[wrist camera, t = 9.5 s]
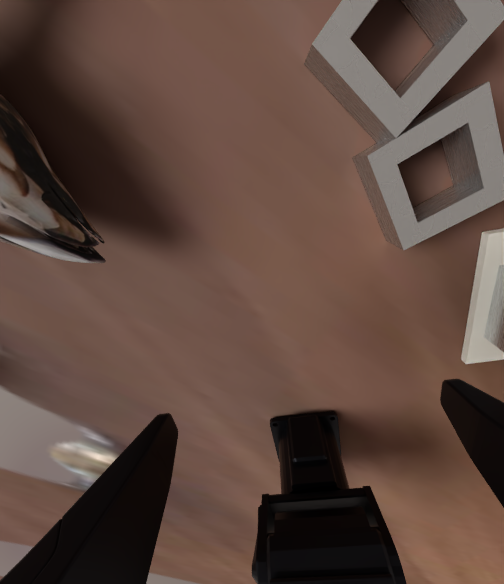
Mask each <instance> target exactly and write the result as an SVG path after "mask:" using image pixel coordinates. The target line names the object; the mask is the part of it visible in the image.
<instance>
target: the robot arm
mask: <svg viewBox="0 0 504 584" xmlns="http://www.w3.org/2000/svg"><path fill="white" fill-rule="evenodd" d="M440 401H441V405H442V407H443V409H444V411H445V413H446V414H447V416H448V418H449V420H450V422H451V424H452V425H453V427H454V429H455V431H456V433H457V435H458V436H459V438H460V440H461V442H462V444H463V446H464V447H465V449H466V451H467V453H468V454H469V456H470V458H471V459H472V461H473V463H474V464H475V466H476V467H477V469H478V470H479V472H480V473H481V475H482V476H483V478H484V479H485V481H486V482H487V484H488V485H489V486H490V488H491V489H492V491H493V492H494V494H495V495H496V497H497V498H498V500H499V501H500V503H501V504H502V506H503V507H504V403H503V402H502V401H500V400H498V399H496V398H494V397H492V396H490V395H488V394H487V393H485V392H483V391H481V390H479V389H477V388H475V387H473V386H472V385H470V384H468V383H466V382H464V381H462V380H460V379H449V380H444V381H443V383H442V390H441V397H440ZM270 427H271V431H272V435H273V439H274V443H275V447H276V451H277V455H278V459H279V462H280V477H281V493H282V494H276V495H269V494H262V505H260V507H258V534H257V540H256V546H255V551H254V557H253V563H252V577H253V578H254V580H255V581H256V583H257V584H406V580H405V576H404V573H403V569H402V566H401V563H400V559H399V556H398V553H397V550H396V548H395V545H394V542H393V540H392V537H391V535H390V533H389V530H388V528H387V525H386V523H385V521H384V518H383V516H382V514H381V511H380V509H379V506H378V504H377V502H376V499H375V497H374V495H373V492H372V490H371V487H370V486H363V488H353V489H349V485H348V481H347V478H346V474H345V470H344V467H343V463H342V460H341V449H340V438H339V427H338V417H337V414H336V413H335V412H333V411H331V412H322V413H313V414H304V415H295V416H286V417H277V418H272V419H271V420H270ZM177 439H178V429H177V426H176V424H175V422H174V420H173V418H172V416H171V414H169V413H165V414H159V415H157V416H156V417H155V418H154V419H153V420H152V421H151V422H150V423H149V425H148V426H147V427H146V428H145V429H144V430H143V431H142V432H141V433H140V434H139V435H138V436H137V437H136V438H135V440H134V441H133V442H132V443H131V444H130V445H129V446H128V447H127V448H126V449H125V450H124V451H123V452H122V453H121V455H120V456H119V457H118V458H117V459H116V460H115V461H114V462H113V463H112V464H111V465H110V466H109V467H108V468H107V470H106V471H105V472H104V473H103V474H102V475H101V476H100V477H99V478H98V479H97V480H96V481H95V482H94V483H93V485H92V486H91V487H90V488H89V489H88V490H87V491H86V492H85V493H84V494H83V495H82V496H81V497H80V498H79V500H78V501H77V502H76V503H75V504H74V505H73V506H72V507H71V508H70V509H69V510H68V511H67V512H66V513H65V515H64V516H63V517H62V519H60V520H59V521H58V522H57V523H56V524H55V525H54V526H53V527H52V528H51V529H50V531H49V532H48V533H47V534H46V535H45V536H44V537H43V538H42V539H41V540H40V541H39V542H38V543H37V544H36V545H35V546H34V547H33V548H32V549H31V550H30V551H29V553H28V554H27V555H26V556H25V557H24V558H23V559H22V560H21V561H20V562H19V563H18V564H17V565H16V566H15V567H14V568H13V569H12V570H11V571H9V572H8V574H7V575H5V576H4V577H3V578H2V579H1V580H0V584H146V581H147V577H148V573H149V569H150V565H151V561H152V557H153V553H154V549H155V545H156V541H157V537H158V533H159V529H160V525H161V521H162V517H163V513H164V509H165V505H166V501H167V497H168V493H169V488H170V484H171V478H172V472H173V465H174V459H175V452H176V446H177Z"/></svg>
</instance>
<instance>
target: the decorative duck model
mask: <svg viewBox="0 0 504 584" xmlns="http://www.w3.org/2000/svg"><path fill="white" fill-rule="evenodd" d="M76 218H77V219H78V221H79V222H80V223H81V224H82V225H83V226H84V227H85V228H86V229H87V230H88V231H89V232H91V233H92V234H93V235H94V236H95V237H97V238H98V239H99V240H100V241H101V242H102V243H104V241H103V239H102V238H101V236H100V235H99V234H98V232H97V231H96V230H95V229H94V227H93V226H92V225H91V223H90V222H89V221H88V219H87V218H86V216H85V215H84V214H83V212H82V211H81V209H80V208H79V207H78V205H77V204H76V202H75V201H74V199H73V198H72V197H71V195H70V194H69V192H68V191H67V189H66V188H65V187H64V185H63V184H62V183H61V181H60V180H59V179H58V177H57V176H56V175H55V173H54V172H53V171H52V169H51V167H50V165H49V164H48V162H47V159H46V157H45V155H44V153H43V151H42V149H41V147H40V145H39V143H38V141H37V139H36V137H35V136H34V134H33V132H32V130H31V129H30V127H29V126H28V125H27V123H26V122H25V121H24V119H23V118H22V117H21V115H20V114H19V113H18V112H17V110H16V109H15V108H14V107H13V106H12V105H11V104H10V103H9V102H8V101H7V100H6V99H5V98H4V97H3V96H2V95H1V94H0V241H1V242H4V243H7V244H10V245H13V246H16V247H19V248H23V249H26V250H29V251H33V252H36V253H39V254H43V255H46V256H49V257H53V258H57V259H61V260H66V261H73V262H84V263H104V262H106V261H105V259H104V258H103V257H102V256H101V255H100V254H99V253H98V252H97V251H96V250H95V249H94V248H93V246H96V245H98V244H99V242H98V241H96V240H95V239H94V238H93V237H92V236H91V235H89V234H88V233H87V231H86V230H85V229H84V228H83V227H82V226H81V225H80V224H79V223H78V221H77V219H76Z"/></svg>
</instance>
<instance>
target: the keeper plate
mask: <svg viewBox="0 0 504 584" xmlns="http://www.w3.org/2000/svg"><path fill="white" fill-rule="evenodd" d="M500 265H504V228H502V229H497V230H491V231H485V232H482V236H481V242H480V248H479V254H478V260H477V266H476V272H475V278H474V284H473V290H472V296H471V302H470V308H469V314H468V320H467V326H466V332H465V338H464V344H463V350H462V356H461V360H462V361H463V362H464V363H465V364H471V363H479V362H487V361H495V360H503V359H504V352H503V351H501V350H500V349H499V348H497V347H496V346H495V345H494V344H492V343H491V342H490V341H488V340H487V339H486V338H484V333H485V328H486V323H487V319H488V314H489V310H490V305H491V301H492V296H493V291H494V287H495V282H496V278H497V273H498V269H499V266H500Z"/></svg>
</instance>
